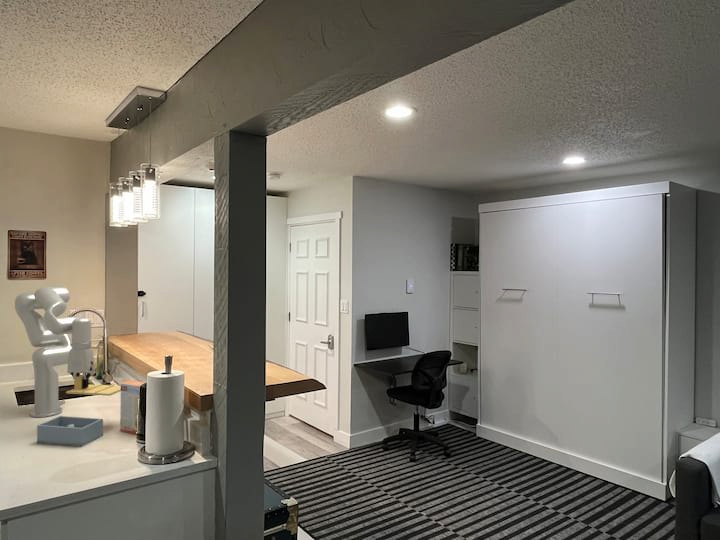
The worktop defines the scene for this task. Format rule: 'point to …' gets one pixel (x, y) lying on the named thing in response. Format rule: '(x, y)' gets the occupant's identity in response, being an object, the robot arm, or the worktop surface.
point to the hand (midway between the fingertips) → (81, 387)
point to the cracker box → (129, 406)
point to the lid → (93, 388)
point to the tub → (70, 430)
